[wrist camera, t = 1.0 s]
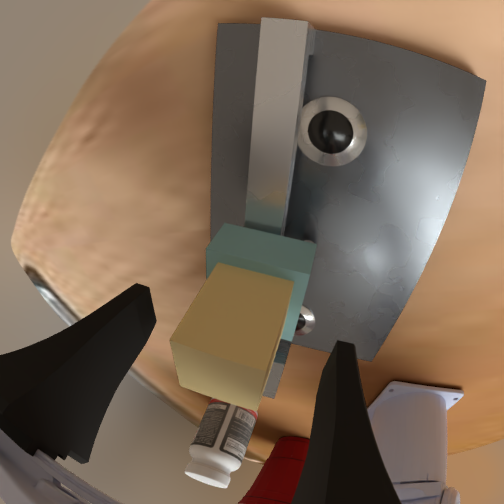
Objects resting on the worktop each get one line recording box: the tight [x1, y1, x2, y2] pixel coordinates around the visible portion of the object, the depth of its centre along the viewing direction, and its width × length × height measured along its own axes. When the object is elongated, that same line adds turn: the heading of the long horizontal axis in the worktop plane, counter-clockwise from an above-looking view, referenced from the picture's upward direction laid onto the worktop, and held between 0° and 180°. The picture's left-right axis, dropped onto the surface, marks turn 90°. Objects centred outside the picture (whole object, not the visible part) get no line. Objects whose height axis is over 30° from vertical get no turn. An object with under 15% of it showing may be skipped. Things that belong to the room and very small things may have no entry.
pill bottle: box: [185, 398, 258, 488], centre depth 28 cm, size 6×6×10 cm
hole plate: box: [211, 23, 486, 361], centre depth 16 cm, size 19×12×1 cm, turn 176°
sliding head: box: [170, 223, 317, 411], centre depth 13 cm, size 4×4×9 cm
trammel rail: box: [244, 17, 316, 399], centre depth 14 cm, size 19×4×5 cm, turn 176°
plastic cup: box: [238, 436, 310, 504], centre depth 30 cm, size 11×11×12 cm
